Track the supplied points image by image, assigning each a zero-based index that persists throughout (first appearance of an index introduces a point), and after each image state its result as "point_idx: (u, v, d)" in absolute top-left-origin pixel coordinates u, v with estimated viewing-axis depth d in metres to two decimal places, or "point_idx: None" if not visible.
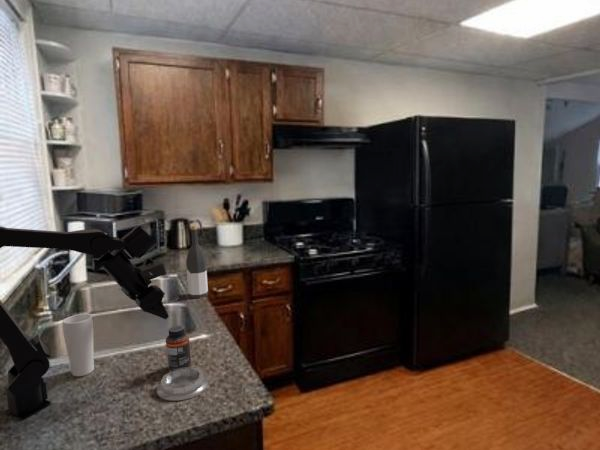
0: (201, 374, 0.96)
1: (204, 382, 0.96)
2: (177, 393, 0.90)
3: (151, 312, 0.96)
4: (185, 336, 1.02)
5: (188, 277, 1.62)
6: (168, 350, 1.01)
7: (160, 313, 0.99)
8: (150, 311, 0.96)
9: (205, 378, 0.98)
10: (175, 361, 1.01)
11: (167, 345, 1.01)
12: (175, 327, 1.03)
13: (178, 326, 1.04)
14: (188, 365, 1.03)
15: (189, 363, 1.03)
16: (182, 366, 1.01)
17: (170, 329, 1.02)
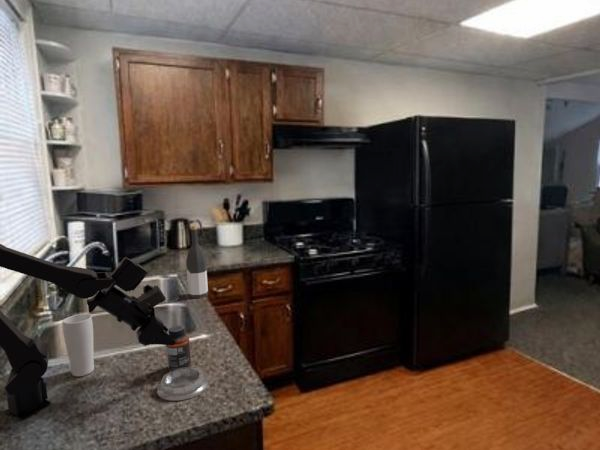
0: (201, 374, 0.96)
1: (204, 382, 0.96)
2: (177, 393, 0.90)
3: (155, 343, 0.94)
4: (185, 336, 1.02)
5: (188, 277, 1.62)
6: (168, 350, 1.01)
7: (165, 341, 0.96)
8: (153, 342, 0.94)
9: (205, 378, 0.98)
10: (175, 361, 1.01)
11: (167, 345, 1.01)
12: (175, 327, 1.03)
13: (178, 326, 1.04)
14: (188, 365, 1.03)
15: (189, 363, 1.03)
16: (182, 366, 1.01)
17: (170, 329, 1.02)
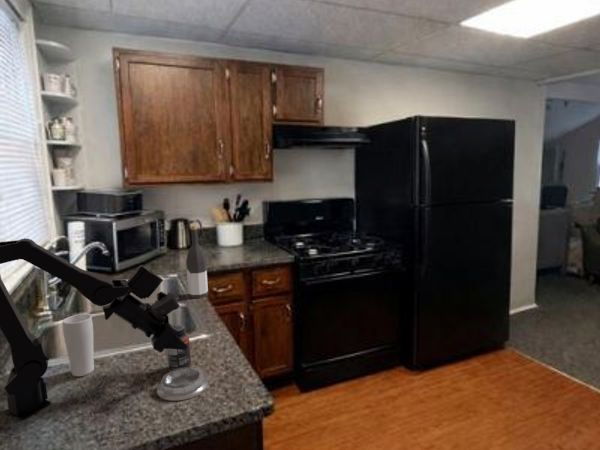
0: (201, 374, 0.96)
1: (204, 382, 0.96)
2: (177, 393, 0.90)
3: (168, 347, 0.97)
4: (185, 336, 1.02)
5: (188, 277, 1.62)
6: (168, 350, 1.01)
7: (178, 345, 0.99)
8: (166, 347, 0.97)
9: (205, 378, 0.98)
10: (175, 361, 1.01)
11: None
12: (175, 327, 1.03)
13: (178, 326, 1.04)
14: (188, 365, 1.03)
15: (189, 363, 1.03)
16: (182, 366, 1.01)
17: None
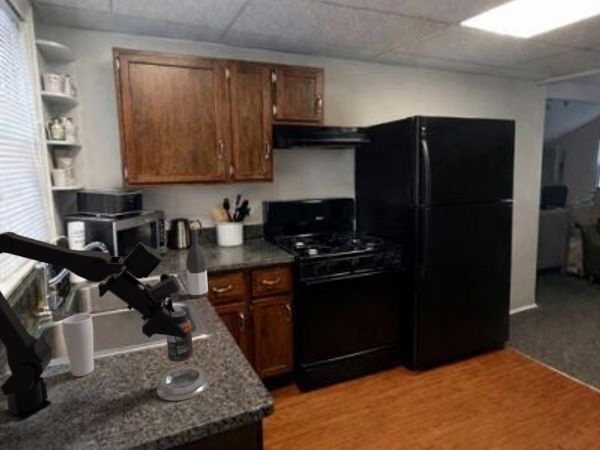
0: (201, 374, 0.96)
1: (204, 382, 0.96)
2: (177, 393, 0.90)
3: (163, 333, 0.89)
4: (186, 323, 0.94)
5: (188, 277, 1.62)
6: (167, 336, 0.93)
7: (175, 332, 0.91)
8: (161, 332, 0.89)
9: (205, 378, 0.98)
10: (173, 349, 0.93)
11: None
12: (177, 312, 0.95)
13: (180, 311, 0.96)
14: (188, 355, 0.94)
15: (189, 353, 0.95)
16: (180, 355, 0.93)
17: None
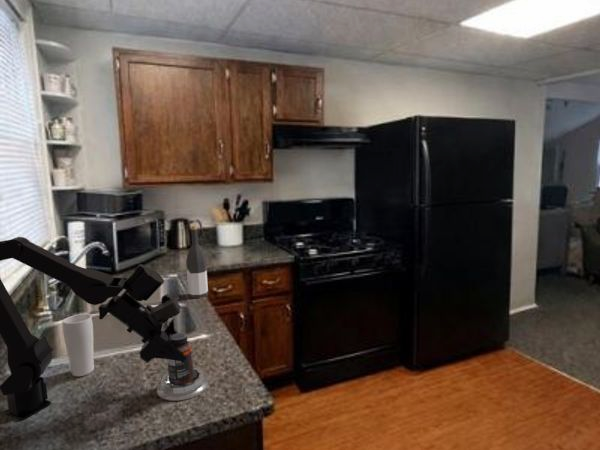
0: (201, 374, 0.96)
1: (204, 382, 0.96)
2: (177, 393, 0.90)
3: (162, 357, 0.88)
4: (186, 346, 0.92)
5: (188, 277, 1.62)
6: (167, 359, 0.92)
7: (174, 356, 0.90)
8: (160, 356, 0.88)
9: (205, 378, 0.98)
10: (173, 373, 0.91)
11: None
12: (178, 335, 0.94)
13: (181, 334, 0.94)
14: (188, 378, 0.93)
15: (190, 376, 0.93)
16: (180, 379, 0.92)
17: (171, 336, 0.93)
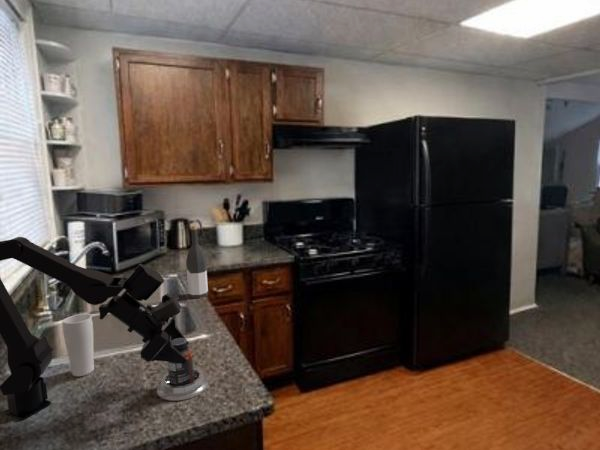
0: (201, 374, 0.96)
1: (204, 382, 0.96)
2: (177, 393, 0.90)
3: (162, 359, 0.87)
4: (186, 351, 0.92)
5: (188, 277, 1.62)
6: (168, 364, 0.92)
7: (175, 358, 0.88)
8: (160, 358, 0.86)
9: (205, 378, 0.98)
10: (174, 378, 0.92)
11: None
12: (178, 340, 0.94)
13: (181, 339, 0.94)
14: (189, 383, 0.93)
15: (190, 381, 0.93)
16: (181, 384, 0.92)
17: (172, 341, 0.93)
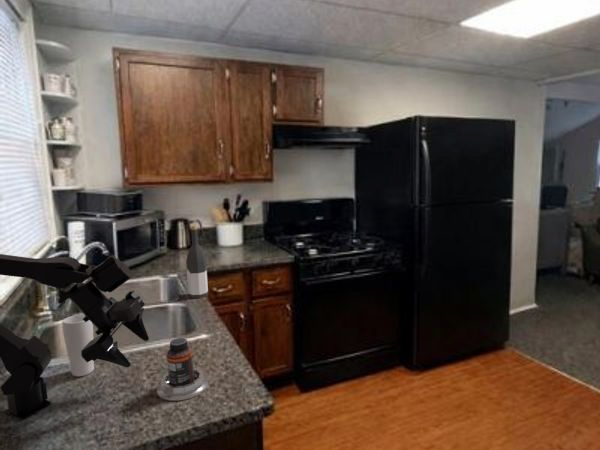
0: (201, 374, 0.96)
1: (204, 382, 0.96)
2: (177, 393, 0.90)
3: (105, 359, 0.86)
4: (186, 351, 0.92)
5: (188, 277, 1.62)
6: (168, 364, 0.92)
7: (118, 361, 0.87)
8: (103, 358, 0.86)
9: (205, 378, 0.98)
10: (174, 378, 0.92)
11: (167, 359, 0.92)
12: (178, 340, 0.94)
13: (181, 339, 0.94)
14: (189, 383, 0.93)
15: (190, 381, 0.93)
16: (181, 384, 0.92)
17: (171, 341, 0.93)
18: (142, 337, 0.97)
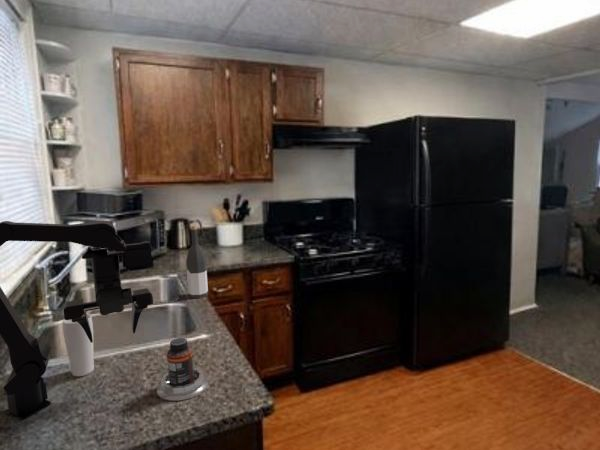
0: (201, 374, 0.96)
1: (204, 382, 0.96)
2: (177, 393, 0.90)
3: None
4: (186, 351, 0.92)
5: (188, 277, 1.62)
6: (168, 364, 0.92)
7: None
8: None
9: (205, 378, 0.98)
10: (174, 378, 0.92)
11: (167, 359, 0.92)
12: (178, 340, 0.94)
13: (181, 339, 0.94)
14: (189, 383, 0.93)
15: (190, 381, 0.93)
16: (181, 384, 0.92)
17: (172, 341, 0.93)
18: (132, 327, 0.96)
